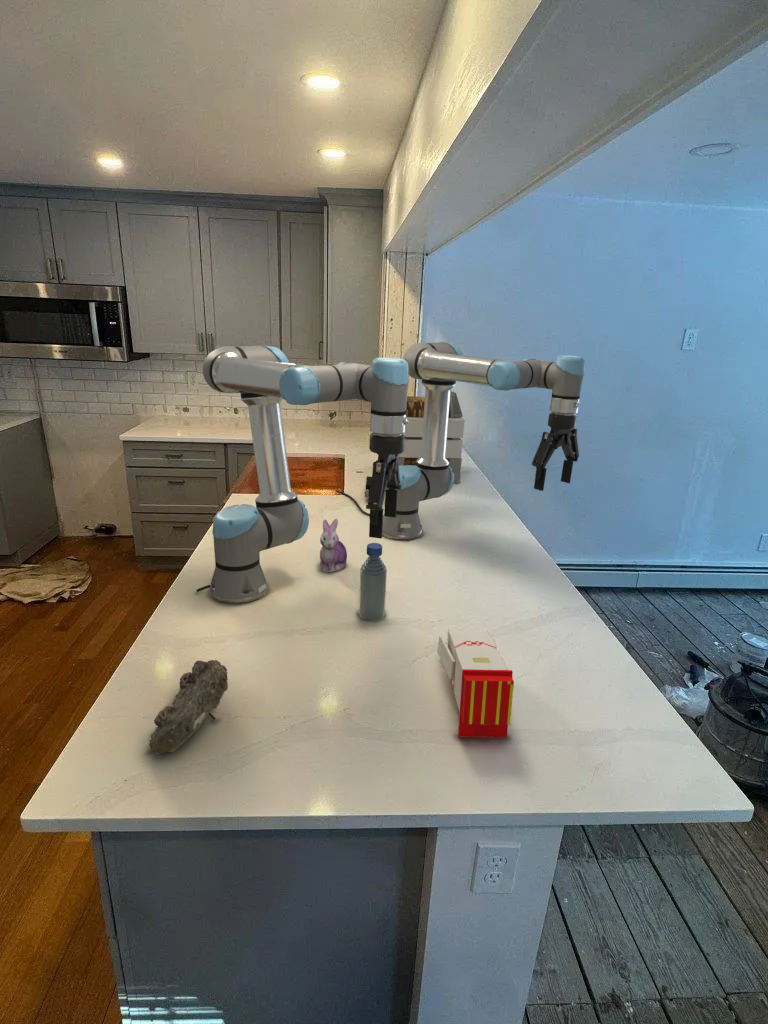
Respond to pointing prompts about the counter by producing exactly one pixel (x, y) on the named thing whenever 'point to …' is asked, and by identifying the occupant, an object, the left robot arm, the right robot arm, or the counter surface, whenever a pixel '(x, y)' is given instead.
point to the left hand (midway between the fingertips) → (383, 526)
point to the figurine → (331, 548)
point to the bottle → (372, 589)
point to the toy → (478, 682)
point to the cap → (374, 549)
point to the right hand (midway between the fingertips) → (552, 485)
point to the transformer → (416, 430)
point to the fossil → (189, 705)
